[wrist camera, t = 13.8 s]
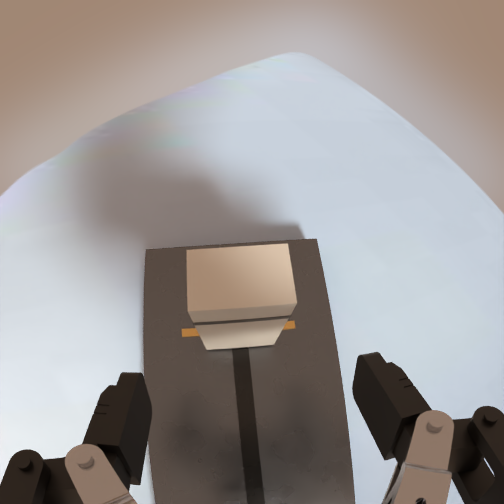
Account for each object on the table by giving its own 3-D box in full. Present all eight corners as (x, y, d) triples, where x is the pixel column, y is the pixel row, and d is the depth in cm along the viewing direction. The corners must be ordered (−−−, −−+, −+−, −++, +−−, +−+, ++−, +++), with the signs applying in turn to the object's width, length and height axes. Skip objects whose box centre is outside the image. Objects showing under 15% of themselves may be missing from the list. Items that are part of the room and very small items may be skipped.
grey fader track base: (349, 605, 11) (358, 617, 9) (190, 622, 10) (186, 636, 8) (310, 251, 25) (316, 237, 23) (152, 261, 24) (145, 248, 22)
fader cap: (274, 344, 19) (298, 303, 12) (206, 350, 19) (187, 311, 12) (269, 305, 20) (288, 242, 13) (204, 309, 20) (186, 249, 13)
